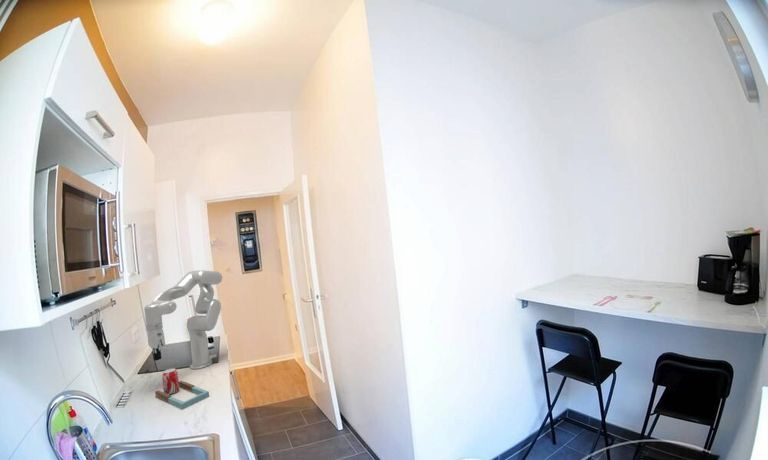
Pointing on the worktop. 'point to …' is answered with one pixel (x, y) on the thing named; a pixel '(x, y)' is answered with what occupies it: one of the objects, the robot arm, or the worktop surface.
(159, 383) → the worktop surface
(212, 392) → the worktop surface
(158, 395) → the channel
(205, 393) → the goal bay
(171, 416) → the worktop surface
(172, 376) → the soda can
